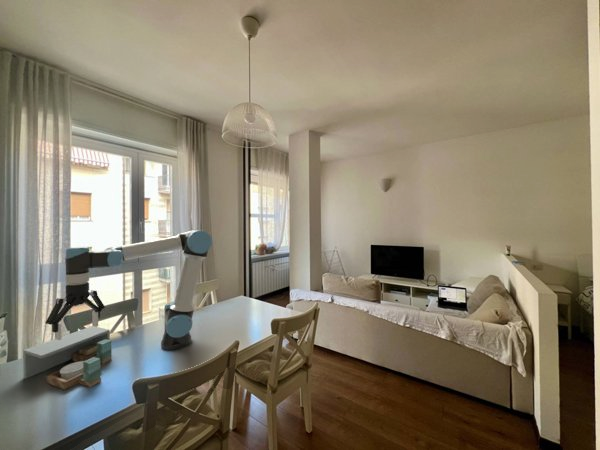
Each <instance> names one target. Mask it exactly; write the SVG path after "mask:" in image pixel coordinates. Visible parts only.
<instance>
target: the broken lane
mask: <svg viewBox="0 0 600 450" xmlns="http://www.w3.org/2000/svg"><path fill="white" fill-rule="evenodd" d="M72 357H73V359H72V361H73V362H78V361H80V360H88V359H90V358H93V357H96V358H100V365H101V366H103V365H106V364H108V363H109V362H111V361H113V360H112V340H111V339H110V340H107V339H105V340H103V341H100V342H98V343H97V351H95V352H93V353H90V354H88V355H86V356H84V355H81V354H80V351H78V352H76V353H73V354H72Z"/></svg>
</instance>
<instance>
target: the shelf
mask: <svg viewBox="0 0 600 450" xmlns="http://www.w3.org/2000/svg"><path fill="white" fill-rule="evenodd" d="M110 334H111V333H110V329H109V328H103V327H100V326H97V327H95V326H88V327H85V328H83V329H80V330H77V331H74V332H72V333H69V334H66V335H63V336H62V335H61V340H56V339H55V338H54V339H51V340H49V341H45V342H43V343H39V344H37V345H34V346H30V347H29V348H24V349H23V352H22V353H23V357H22V358H23V379H29V378H31V377H34V376H35V375H37V374H40V373H42V372H45V371H47V370H49V369H52V368H54V367H56V366H58V365H59V366H60V365H61V364H64V363H66V362H68V361H70V360H73V357H72V354H73V353H76V352H78V351H80V349H82V348H84V347H87V346H89V345H95V346H97V343H98V342H100V341H103V340H105V339H107V340H111V339H110V338H111V337H110Z"/></svg>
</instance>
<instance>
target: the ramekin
mask: <svg viewBox="0 0 600 450" xmlns="http://www.w3.org/2000/svg"><path fill="white" fill-rule="evenodd" d="M83 362H84V361H80V362H76V361H74V362H71V363H69V364H66V365H64V366H63V367H62V368H60V369H61V370H60V369H59V370H60V374H61V377H60V378H62V379H64V380H69V379H71V378H73V377H75V376H77V375H79V374H81V373H83Z"/></svg>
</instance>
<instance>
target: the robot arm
mask: <svg viewBox="0 0 600 450" xmlns="http://www.w3.org/2000/svg"><path fill="white" fill-rule="evenodd" d="M212 244H213V239H212V237H211V235H210V234H209V232H207V231H206V230H202V229H192V230H190V231H186V232H181V233H178V234H177V235H175V236H170V237H166V238H165V237H164V238H159V239H154V240H152V239H151V240H149V241H141V242H136V243H130V244H125V245H121V246H119V245H118V246H115V247H107V248H106V249H104V250H90V248H89V246H72V247H67V249H66V250H65V258H64V261H65V297H61V298H60V297H57V298H56V300H55V303H54V304H55V305H54V306H53V307H52V310H51V312H50V313H49V315H48V317H47V318H46V321H45V324H47V325H51V331H52V333H54V339H56V340H61V337H62V322H61V321H62V320H63V318H64V317H65V316H66V315H67V313H68V312H69V311H70V310H71V309H73V307H76V306H79V305H83V304H85V305H86V306H88V307H89V308H90V309H92V310H93V311H92V312H91V313H92V314H91V315H92V316H91V317H92V326H95V327H99V319H100V318H101V312H102V310H103V309H105V308H106V307H105V304H104V303H103V301H102V300H101V298H100V297H99V295H98V290H95V289H94V290H93V289H92V290H90V282H89V281H90V269H97V268H98V269H101V268H116V267H121V266H122V265H123V262H124V261H129V260H134V259H138V258H143V257H149V256H154V255H157V254H163V253H168V252H174V251H177V250H179V251H181V252H182V251H183V256H184V257H185V259H184V262H183V266H182V269H181V275H180V278H179V283H178V286H177V290H176V294H175V299H174V301H171V302H167V303H166V304H165V305H164V308H163V309H164V310H163V311H164V332H163V335H162V340H161V341H160V348H161V349H162V350H165V351H174V350H179V349H183V348H185V347H187V346H188V345H190V344H191V342H192V335H191V333H190V331H191V330H192V327H193V316H194V313H195V307H194V306H193V302H194V298H195V293H196V289H197V286H198V281H199V277H200V273H201V270H202V265H203V262H204V260H205V259H206V258H208V253H209V250H210V248H211V247H212ZM89 297H91V298H92V300H93V302H94V303H93V302H92V301H91V300H90V299H89ZM65 302H66V303H65ZM64 303H65V304H64ZM63 304H64V305H63Z"/></svg>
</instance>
